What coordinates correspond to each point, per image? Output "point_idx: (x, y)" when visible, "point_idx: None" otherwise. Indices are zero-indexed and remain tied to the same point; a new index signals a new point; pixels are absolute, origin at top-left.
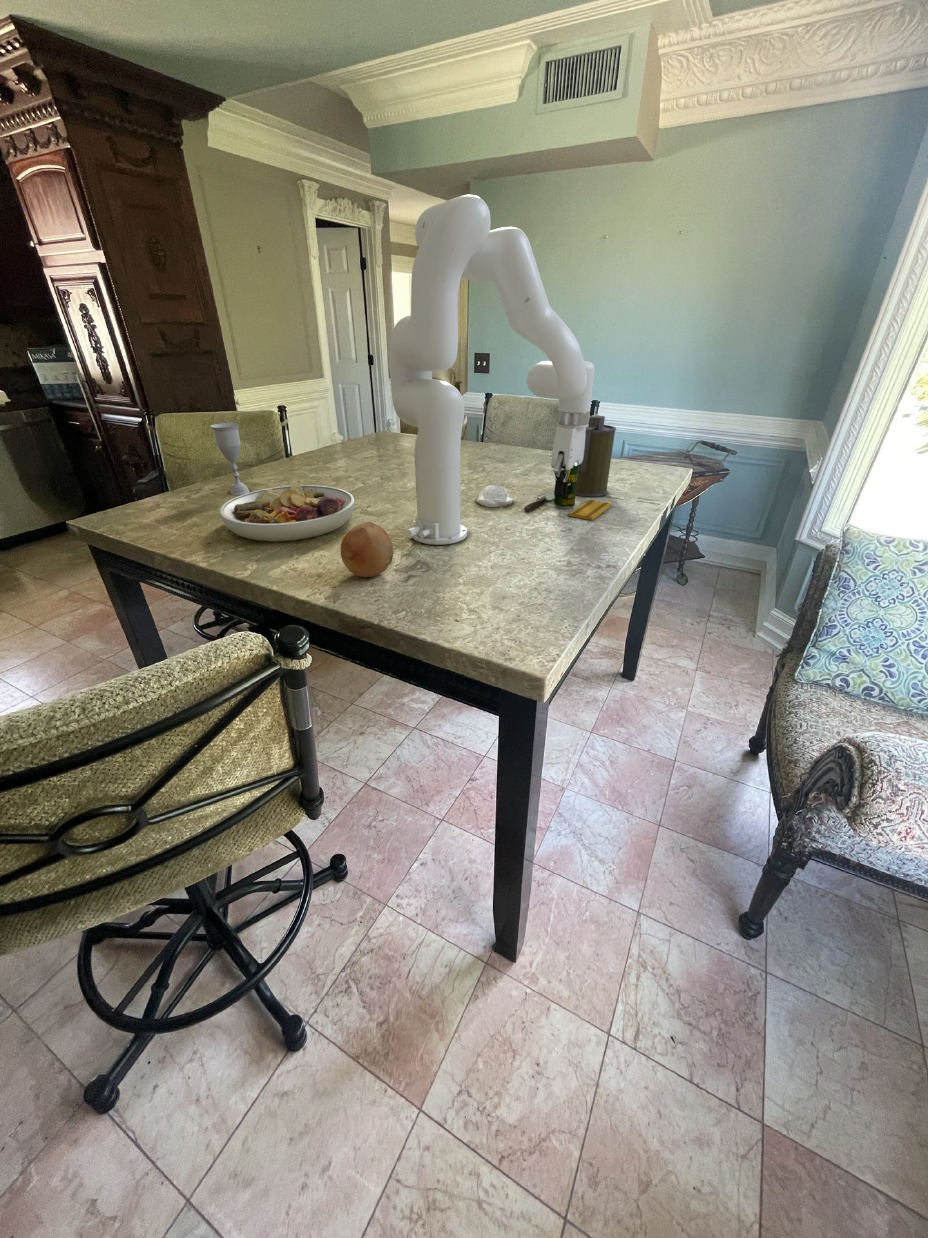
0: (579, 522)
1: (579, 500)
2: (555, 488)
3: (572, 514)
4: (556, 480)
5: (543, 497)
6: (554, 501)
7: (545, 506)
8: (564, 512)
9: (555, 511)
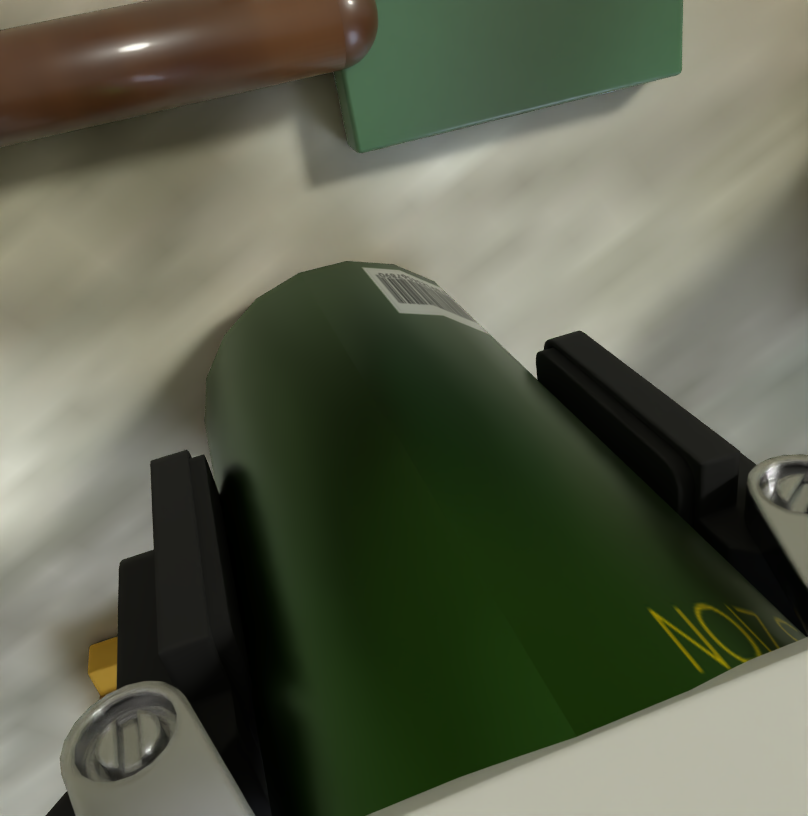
0: (23, 806)
1: (662, 342)
2: (158, 543)
3: (103, 690)
4: (90, 746)
5: (274, 58)
6: (236, 340)
7: (132, 218)
8: (150, 537)
9: (80, 455)
